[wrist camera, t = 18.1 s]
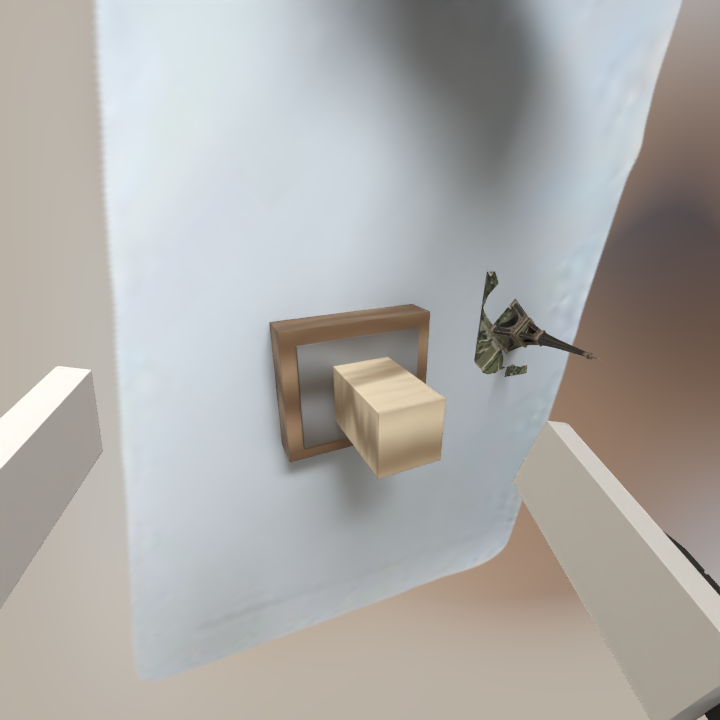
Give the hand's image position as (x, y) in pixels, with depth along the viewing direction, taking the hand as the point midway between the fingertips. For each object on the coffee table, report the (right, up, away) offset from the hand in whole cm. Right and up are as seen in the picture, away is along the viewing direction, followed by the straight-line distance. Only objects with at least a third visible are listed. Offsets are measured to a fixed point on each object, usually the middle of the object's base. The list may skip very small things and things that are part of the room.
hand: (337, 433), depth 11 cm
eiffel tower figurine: (+20, +7, +40) cm, 45 cm away
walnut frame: (-1, +1, +32) cm, 32 cm away
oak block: (+1, -1, +28) cm, 28 cm away
